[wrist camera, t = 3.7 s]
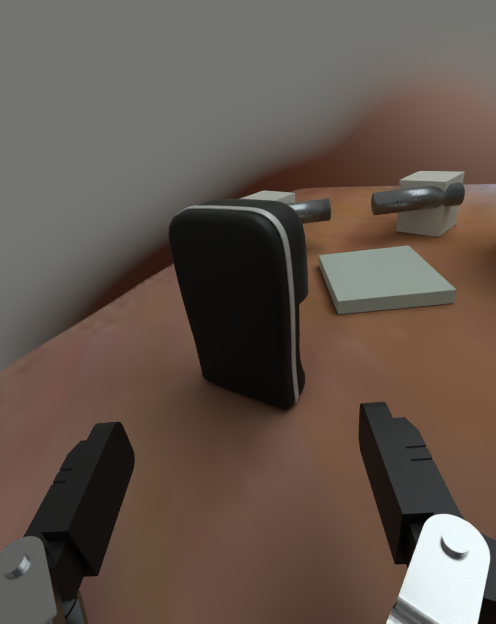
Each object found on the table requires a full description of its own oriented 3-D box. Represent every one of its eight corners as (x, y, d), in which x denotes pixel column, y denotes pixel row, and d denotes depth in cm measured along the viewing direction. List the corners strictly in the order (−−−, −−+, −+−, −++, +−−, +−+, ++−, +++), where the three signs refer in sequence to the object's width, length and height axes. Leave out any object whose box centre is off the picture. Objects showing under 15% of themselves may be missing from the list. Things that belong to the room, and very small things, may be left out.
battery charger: (320, 375, 23) (314, 192, 17) (293, 416, 20) (275, 215, 15) (232, 350, 26) (203, 191, 21) (199, 381, 24) (156, 209, 18)
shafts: (451, 202, 40) (455, 180, 39) (462, 207, 38) (466, 184, 37) (250, 226, 42) (247, 205, 41) (250, 232, 40) (247, 211, 39)
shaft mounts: (442, 216, 46) (449, 167, 43) (471, 233, 40) (481, 177, 37) (242, 239, 48) (236, 194, 45) (240, 259, 42) (233, 208, 39)
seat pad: (407, 256, 37) (408, 245, 36) (453, 303, 28) (456, 289, 28) (319, 266, 38) (318, 255, 37) (338, 314, 29) (338, 301, 28)
